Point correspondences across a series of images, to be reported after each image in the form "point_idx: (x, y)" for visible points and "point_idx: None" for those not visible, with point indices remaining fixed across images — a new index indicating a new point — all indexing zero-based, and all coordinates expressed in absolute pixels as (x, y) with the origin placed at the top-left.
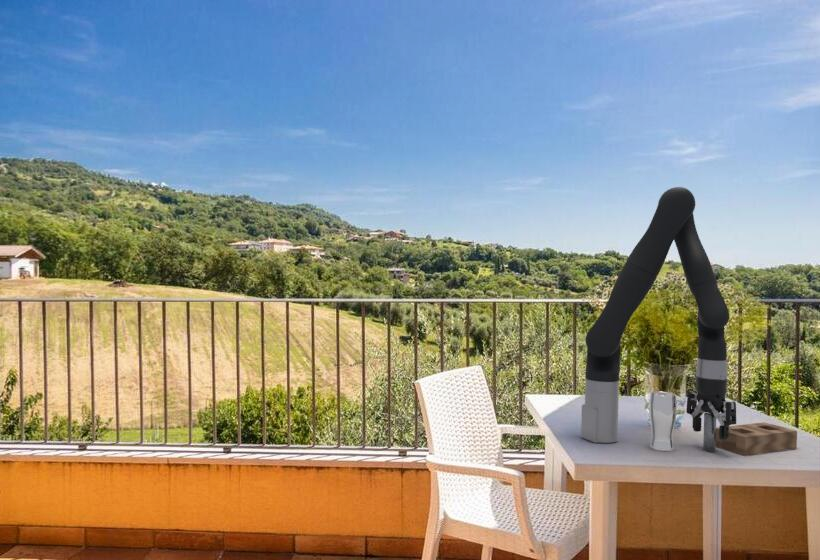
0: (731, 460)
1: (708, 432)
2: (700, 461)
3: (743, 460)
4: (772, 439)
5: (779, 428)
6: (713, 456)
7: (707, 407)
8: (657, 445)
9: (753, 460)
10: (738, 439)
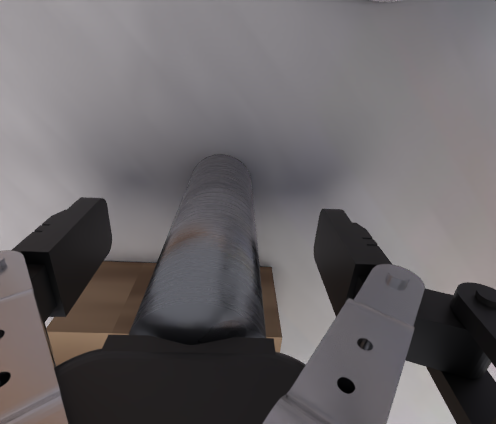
0: (36, 137)
1: (192, 203)
2: None
3: (29, 196)
4: None
5: None
6: (124, 106)
7: (186, 415)
8: None
9: (23, 238)
10: (107, 312)
